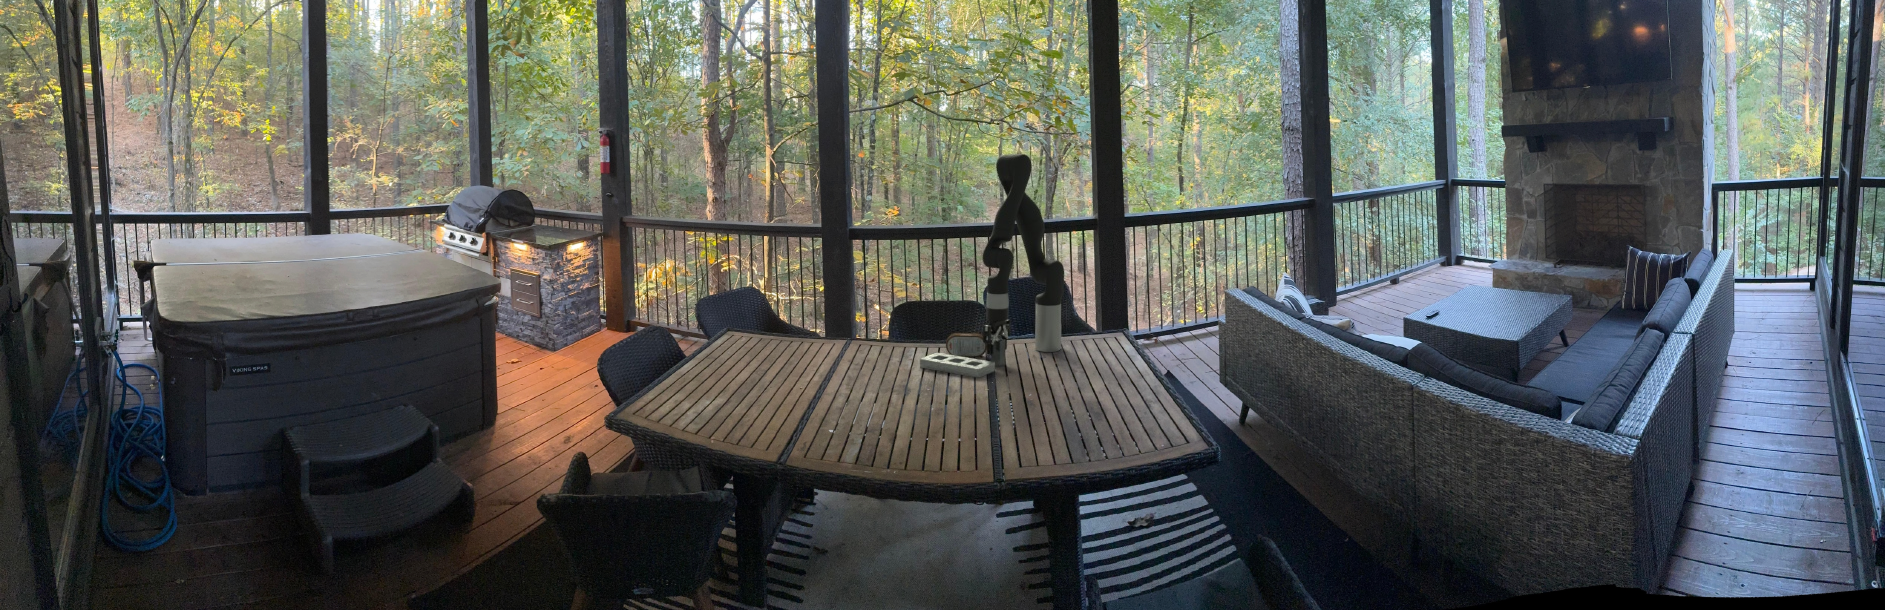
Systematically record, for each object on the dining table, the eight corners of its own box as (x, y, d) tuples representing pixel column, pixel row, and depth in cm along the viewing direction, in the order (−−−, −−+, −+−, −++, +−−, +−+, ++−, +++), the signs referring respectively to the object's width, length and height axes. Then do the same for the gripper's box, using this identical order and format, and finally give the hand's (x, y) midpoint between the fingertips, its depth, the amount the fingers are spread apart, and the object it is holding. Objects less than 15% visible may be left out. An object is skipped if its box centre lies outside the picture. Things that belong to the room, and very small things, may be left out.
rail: (936, 360, 319) (936, 352, 318) (994, 370, 305) (994, 362, 305) (920, 367, 311) (919, 358, 311) (978, 377, 297) (978, 369, 297)
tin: (987, 355, 326) (987, 332, 324) (987, 357, 322) (987, 334, 321) (946, 355, 327) (945, 332, 325) (945, 357, 324) (945, 334, 322)
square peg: (996, 363, 315) (996, 338, 313) (1005, 364, 313) (1005, 339, 311) (991, 365, 312) (990, 340, 311) (999, 366, 310) (999, 341, 308)
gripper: (995, 310, 301) (995, 357, 304) (1017, 303, 312) (1017, 349, 315) (976, 307, 305) (976, 354, 308) (999, 301, 316) (998, 346, 319)
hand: (997, 352), depth 312 cm, fingers open, 8 cm apart
